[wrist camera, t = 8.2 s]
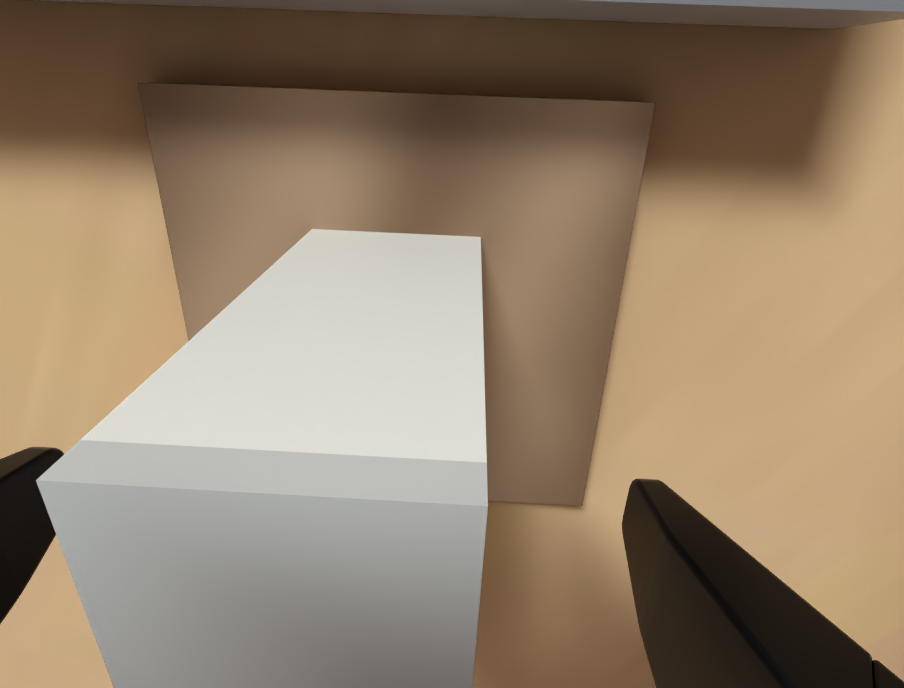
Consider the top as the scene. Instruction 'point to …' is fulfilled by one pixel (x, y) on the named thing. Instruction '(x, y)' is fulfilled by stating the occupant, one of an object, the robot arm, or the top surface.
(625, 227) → the pad
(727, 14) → the power strip
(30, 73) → the top surface
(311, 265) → the plug
